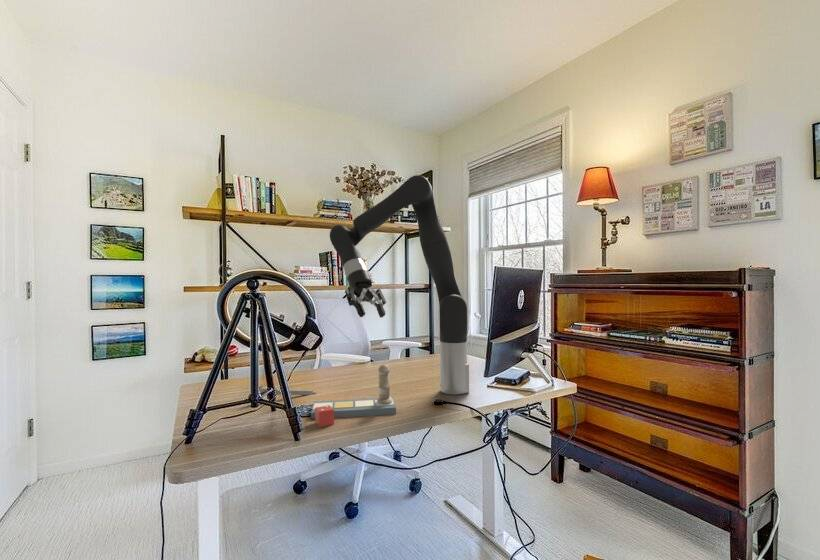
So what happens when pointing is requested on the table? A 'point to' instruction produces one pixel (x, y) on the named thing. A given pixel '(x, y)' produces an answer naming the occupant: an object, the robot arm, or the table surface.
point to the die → (324, 415)
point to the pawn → (384, 385)
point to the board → (356, 407)
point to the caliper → (293, 392)
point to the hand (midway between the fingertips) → (373, 316)
